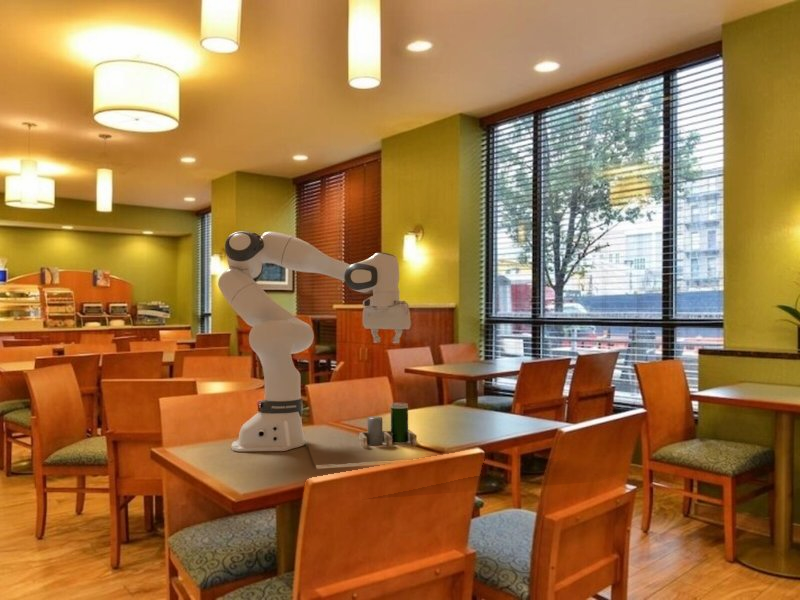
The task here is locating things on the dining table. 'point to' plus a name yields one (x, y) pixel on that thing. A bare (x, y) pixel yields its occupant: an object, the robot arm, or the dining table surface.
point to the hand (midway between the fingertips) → (386, 342)
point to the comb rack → (387, 440)
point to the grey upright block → (374, 431)
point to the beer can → (399, 423)
